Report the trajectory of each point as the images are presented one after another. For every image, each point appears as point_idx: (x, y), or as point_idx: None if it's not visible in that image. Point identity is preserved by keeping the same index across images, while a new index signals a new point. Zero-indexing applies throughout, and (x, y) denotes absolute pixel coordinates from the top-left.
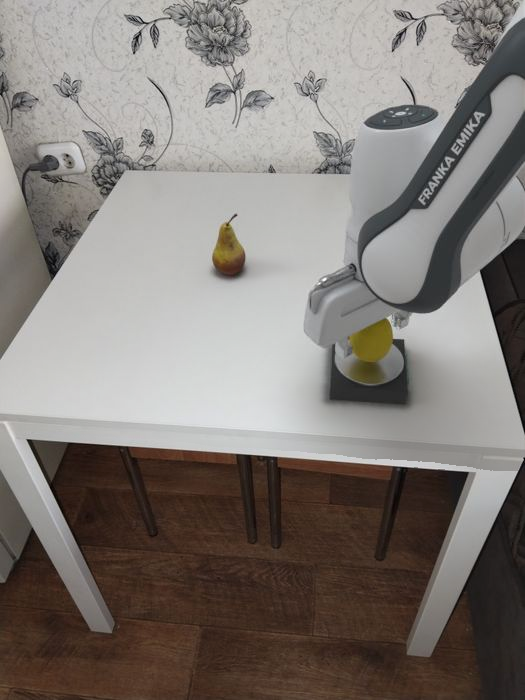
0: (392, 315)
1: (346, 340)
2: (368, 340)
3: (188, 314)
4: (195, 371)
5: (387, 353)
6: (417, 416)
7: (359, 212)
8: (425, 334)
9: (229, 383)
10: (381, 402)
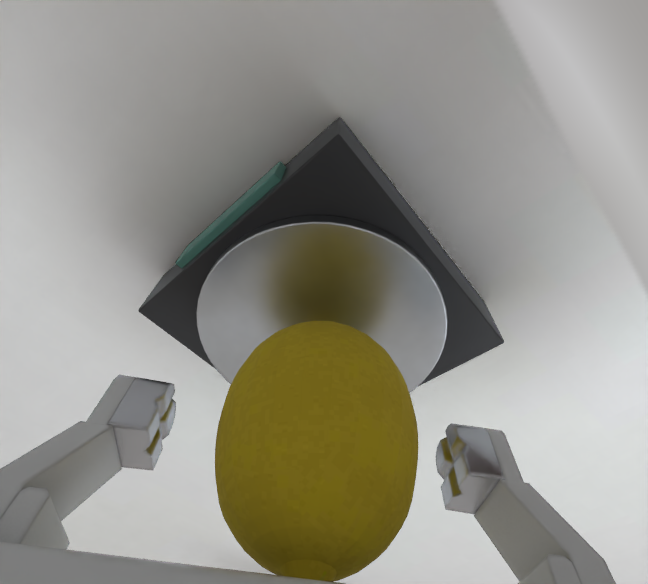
0: (156, 461)
1: (552, 554)
2: (406, 463)
3: (444, 576)
4: (574, 512)
5: (247, 312)
6: (354, 37)
7: None
8: (40, 270)
9: (571, 466)
10: (394, 188)
